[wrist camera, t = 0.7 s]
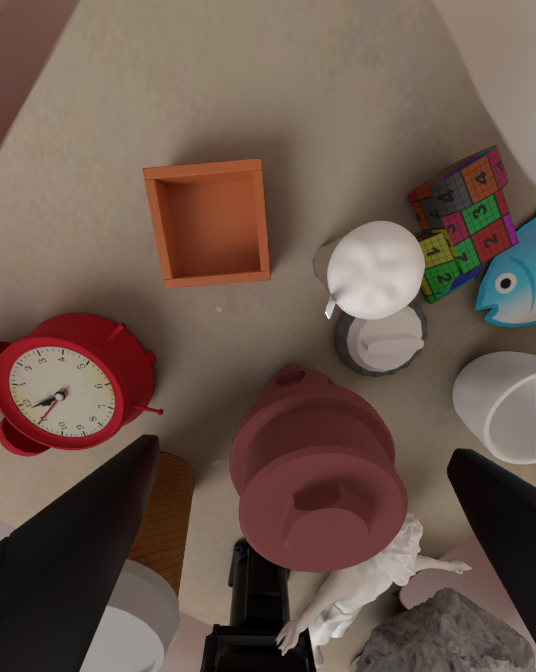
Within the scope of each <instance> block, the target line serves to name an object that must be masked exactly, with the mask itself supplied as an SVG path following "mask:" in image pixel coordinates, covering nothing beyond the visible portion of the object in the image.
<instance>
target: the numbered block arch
mask: <svg viewBox="0 0 536 672" xmlns="http://www.w3.org/2000/svg"><path fill="white" fill-rule="evenodd" d="M507 183H508V178H507V175H506V172H505V169H504V166H503V163H502V160H501V157H500V154H499V151H498V148H497V146H492V147H490V148H487V149H485V150H482V151H480V152H478V153H476V154H473V155H471V156H469V157H467V158H464V159H462V160H460V161H457V162H456V163H454V164H453V165H451V166H450V167H448V168H447V169H445V170H443V171H442V172H440V173H439V174H437V175H436V176H434V177H433V178H431V179H430V180H428V181H427V182H425V183H424V184H422V185H421V186H419V187H418V188H416V189H414V190H413V191H411V192H410V193H408V194H407V197H408V199H409V201H410V203H411V206H412V208H413V210H414V213H415V215H416V217H417V219H418V222H419V224H420V226H421V229H422V231H423V233H424V234H423V235H422V236H420V237H418V238H417V239H416V240H417V241H418V243H419V245H420V247H421V249H422V252H423V255H424V260H425V269H424V274H423V278H422V282H421V286H420V287H421V289H422V291H423V293H424V296H425V298H426V300H427V302H428V303H429V304H432V303H434V302H436V301H438V300H439V299H441V298H443V297H444V296H446V295H448V294H450V293H451V292H453V291H455V290H457V289H458V288H460V287H462V286H464V285H465V284H467V283H469V282H470V281H472V280H474V279H476V277H477V275H478V273H479V272H480V270H481V268H482V266H483V264H484V263H485V262H487V261H489V260H490V259H492V258H494V257H496V256H497V255H499V254H501V253H502V252H504V251H506V250H508V249H509V248H511V247H513V246H514V245H516V244H518V243H519V240H518V237H517V234H516V231H515V228H514V225H513V222H512V219H511V216H510V213H509V210H508V207H507V204H506V201H505V198H504V195H503V192H502V188H503V187H504V186H505V185H506V184H507Z"/></svg>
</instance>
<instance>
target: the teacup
mask: <svg viewBox="0 0 536 672" xmlns="http://www.w3.org/2000/svg"><path fill="white" fill-rule="evenodd" d="M452 398H453V404H454V408H455V410H456V412H457V414H458V415H459V417H460V418H461V419H462V421H463V422H464V424H465V425H466V426H467V427H468V428H469V430H470V431H471V432H472V433H473V434H474V435H475V436H476V437H477V438H478V439H479V440H480V441H481V442H482V443H483V445H484V446H485V447H486V448H487V449H488V450H489V451H490V452H491V453H492V454H493V455H494V456H495V457H497V458H498V459H500V460H502V461H505V462H508V463H512V464H534V463H536V355H532V354H527V353H521V352H511V351H501V352H494V353H490V354H486V355H483V356H481V357H479V358H477V359H475V360H473V361H472V362H470V363H469V364H468V365H466V366H465V367H464V368H463V369H462V371H461V372H460V373H459V375H458V376H457V378H456V380H455V383H454V386H453V391H452Z"/></svg>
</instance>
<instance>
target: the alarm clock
mask: <svg viewBox="0 0 536 672" xmlns="http://www.w3.org/2000/svg"><path fill="white" fill-rule="evenodd" d="M125 328H126V325H125V324H124V323H120V324H119V325H117V324H116V323H114V322H112V321H110V320H108V319H105V318H102V317H99V316H96V315H91V314H85V313H70V314H63V315H60V316H56V317H53V318H51V319H48V320H46V321H44V322H43V323H41V324H40V325H38V326H37V327H36V328H35V329H34V330H33V331H32V332H31V333H30V335H28V336H25V337H23V338H21V339H18V340H17V341H15V342H13V343H12V344H10V343H9V342H0V411H1V413H2V414H3V416H4V418H3V419H2V421H1V422H0V442H1V444H2V445H3V446H4V447H5V448H6V449H7V450H8V451H10V452H11V453H14V454H16V455H20V456H35V455H38V454H41V453H43V452H45V451H46V450H48V449H49V448H51V447H52V448H56V449H62V450H82V449H87V448H91V447H94V446H97V445H99V444H101V443H103V442H104V441H106V440H108V439H110V438H111V437H112V436H114V435H115V434H116V433H117V432H118V431H119V430H120V428H121V427H122V426H124V425H126V424H128V423H130V422H131V421H133V420H134V419H136V418H137V417H138V416H139V415H140V414H141V413H142V412H143V410H147V411H152V412H157V413H158V415H162V414H163V409H159V410H157V409H153V408H149V407H146V406H147V405H148V403H149V401H150V399H151V396H152V393H153V388H154V374H153V369H152V365H151V364H152V363H155V362H156V358H155V356H154V354H153V351H151V352H150V353H146V352H145V350H144V349H143V347H142V346H141V345H140V343H139V342H138V341H137V340H136V339H135V338H134V337H133V336H132V335H131V334H130V333H129V332H128V331H126V330H125Z"/></svg>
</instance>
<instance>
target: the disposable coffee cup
mask: <svg viewBox="0 0 536 672" xmlns="http://www.w3.org/2000/svg"><path fill="white" fill-rule="evenodd" d="M194 483H195V480H194V474H193V472H192V470H191V468H190V467H189V466H188V465H187V464H186V462H184V461H183V460H182V459H180V458H178V457H176V456H174V455H171V454H166V453H160V464H159V468H158V471H157V474H156V478H155V481H154V484H153V487H152V491H151V494H150V497H149V501H148V504H147V507H146V510H145V513H144V516H143V519H142V522H141V525H140V527H139V530H138V532H137V534H136V537H135V539H134V542H133V544H132V546H131V549H130V551H129V554H128V556H127V558H126V561H125V563H124V566H123V568H122V570H121V573H120V575H119V578H118V580H117V583H116V585H115V587H114V590H113V592H112V595H111V597H110V599H109V602H108V604H107V607H106V609H105V611H104V614H103V616H102V619H101V621H100V623H99V626H98V628H97V631H96V633H95V635H94V638H93V640H92V643H91V645H90V647H89V650H88V652H87V655H86V657H85V659H84V662H83V664H82V667H81V669H80V671H79V672H157V671H158V670H159V669H160V668H161V665H162V663H163V661H164V658H165V656H166V653H167V651H168V648H169V647H170V646H171V645H172V644H173V643H174V641H175V640H176V638H177V635H178V632H179V627H180V616H179V602H178V594H179V587H180V580H181V573H182V566H183V559H184V551H185V545H186V544H185V543H186V538H187V531H188V524H189V521H188V520H189V517H190V510H191V502H192V495H193V489H194Z"/></svg>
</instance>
